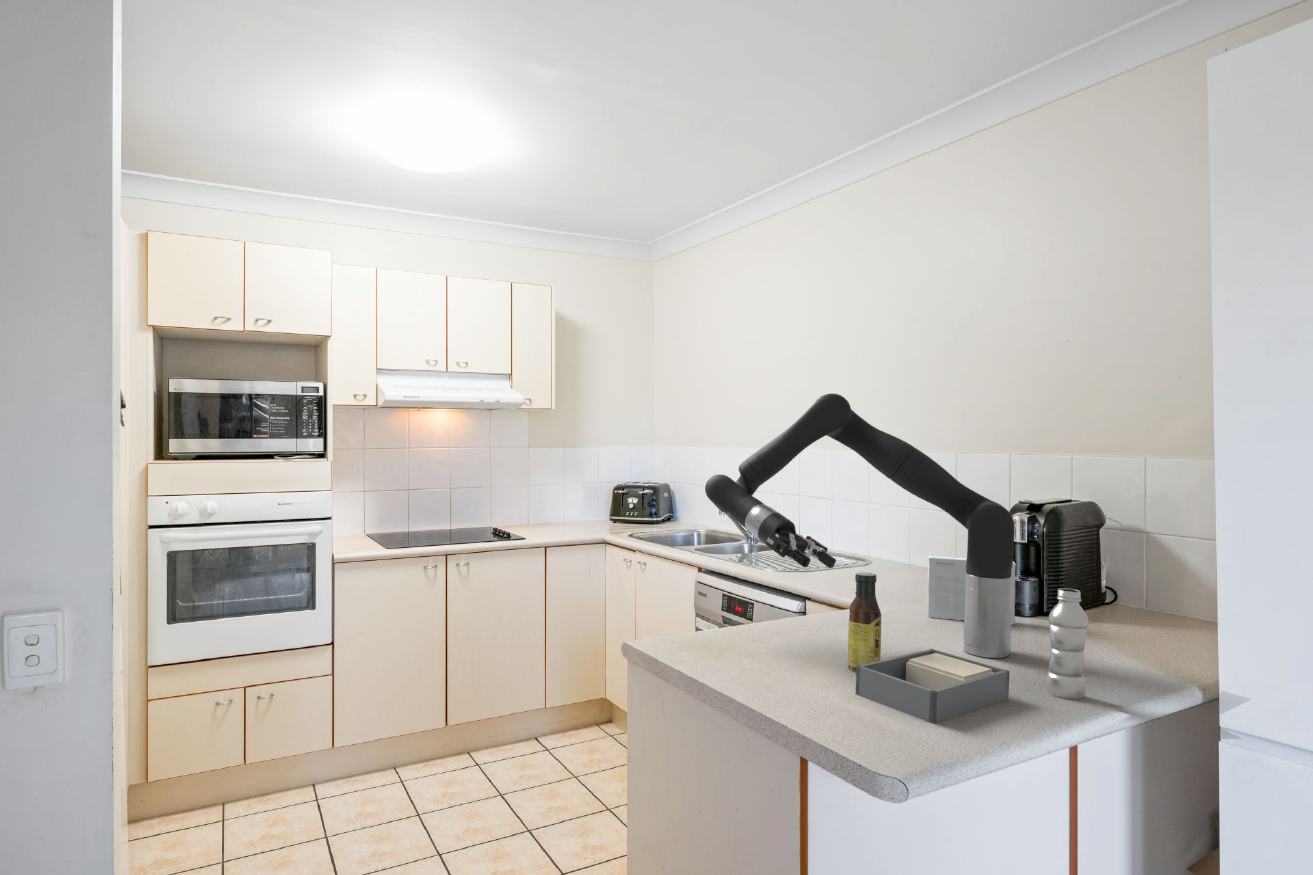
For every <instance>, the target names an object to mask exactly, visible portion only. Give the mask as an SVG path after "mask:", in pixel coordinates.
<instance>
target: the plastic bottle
mask: <svg viewBox="0 0 1313 875" xmlns="http://www.w3.org/2000/svg"><path fill="white" fill-rule="evenodd" d="M1056 599H1057V600H1058V603H1056V604H1055V606H1054V607H1053V608H1052V609H1051V610H1050V612H1049V615H1048V628H1049V636H1050V656H1049V663H1048V670H1047V672H1046V677H1045V688H1046V692H1047V693H1048V694H1049V695H1052V696H1053V697H1057V698H1060V699H1066V700H1081V699H1083V698H1084V697H1085V696H1086V693H1087V681H1086V676H1085V661H1084V660H1085V659H1084V656H1085V648H1086V647H1085V646H1086V640H1087V634H1088V630H1089V629H1088V628H1089V623H1090V621H1089V618H1088V615H1087V613H1086V612H1085V610H1084V609H1083V608H1082V606H1081V605H1080V603H1081V602H1082V598H1081V591H1080V590H1078V589H1073V588H1061V587H1060V588H1057V596H1056Z"/></svg>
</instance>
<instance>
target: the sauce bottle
mask: <svg viewBox="0 0 1313 875" xmlns="http://www.w3.org/2000/svg"><path fill="white" fill-rule="evenodd" d="M854 577H855V578H854V579H855V580H854V581H855V584H856V585H855V586H856V588H855V597H854V599H853V600H852V601H851V603H850V605H849V618H848V633H847V635H848V640H847V643H848V644H847V665H848V668H847V669H848V670H849V671H851V672H853V673H856V666H859V665H863V664H867V663H872V662H876V661H880V660H881V654H882V653H881V648H882V613H881V610H880V606H879V604H878V599H877V597H876V583H877V574H875V573H872V572H855V576H854Z"/></svg>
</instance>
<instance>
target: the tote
mask: <svg viewBox="0 0 1313 875" xmlns="http://www.w3.org/2000/svg"><path fill="white" fill-rule="evenodd" d="M934 653H938V654H942V655H945V656H949V657H952V658H955V659H959V660H962V661H966V662H969V663H973V664H976V665H979V666H983V667H986V668H990V669H992V672H994V673H992V674H988V675H985V676H981V677H978V678H974V679H971V680H967V681H964V682H960V683H957V684H953V685H950V686H946V687H943V688H939V689H935V690H931V689H928V688H925V687H922V686H919V685H916V684H913V683H910V682H907V681H906V662H909V659H913V658H917V657H921V656H926V655H930V654H934ZM1009 690H1010V670H1007V669H1004V668H1000V667H996V666H993V665H990V664H987V663H982V662H979V661H976V660H973V659H969V658H965V657H962V656H958V655H956V654H955V655H954V654H951V653H948V652H945V651H940V650H937V649H934V648H928V649H924V650H920V651H916V652H911V653H907V654H903V655H899V656H894V657H889V658H885V659H880V661H876V662H872V663H867V664H863V665H859V666H856V672H855V695H857V696H860V697H862V698H865V699H867V700H870V701H873V702H875V703H878V704H881V705H883V706H886V707H889V708H891V709H893V710H896V711H898V712H902V713H904V714H907V715H909V716H911V717H914V718H917V719H920V720H922V721H925V722H928V723H931V724H933V725H934V724H936V723H940V722H943V721H946V720H949V719H951V718H955V717H958V716H961V715H964V714H967V713H970V712H973V711H977V710H979V709H982V708H986V707H989V706H992V705H995V704H998V703H1001V702H1003V701H1007V700H1009V696H1010V695H1009V694H1010V691H1009Z"/></svg>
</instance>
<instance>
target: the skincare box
mask: <svg viewBox="0 0 1313 875" xmlns="http://www.w3.org/2000/svg"><path fill="white" fill-rule="evenodd" d="M966 560H967V557H951V556H939V555H928V563H927V564H928V565H927V618H928V617H931V618H930V619H937V618H941V619H940V620H948V619H960V620H964V618H965V587H966V586H965V584H966ZM1016 566H1017V565H1016V563H1015V561H1014V560H1013V565H1012V571H1011V598H1010V610H1011V623H1015V620H1016V619H1015V618H1016V617H1015V614H1016V613H1015V612H1016V611H1015V610H1016V608H1015V606H1016ZM932 617H933V618H932ZM1015 624H1016V623H1015Z"/></svg>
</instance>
